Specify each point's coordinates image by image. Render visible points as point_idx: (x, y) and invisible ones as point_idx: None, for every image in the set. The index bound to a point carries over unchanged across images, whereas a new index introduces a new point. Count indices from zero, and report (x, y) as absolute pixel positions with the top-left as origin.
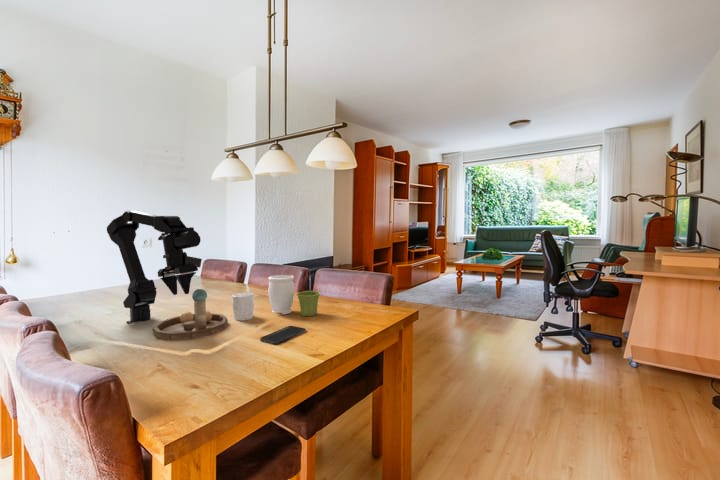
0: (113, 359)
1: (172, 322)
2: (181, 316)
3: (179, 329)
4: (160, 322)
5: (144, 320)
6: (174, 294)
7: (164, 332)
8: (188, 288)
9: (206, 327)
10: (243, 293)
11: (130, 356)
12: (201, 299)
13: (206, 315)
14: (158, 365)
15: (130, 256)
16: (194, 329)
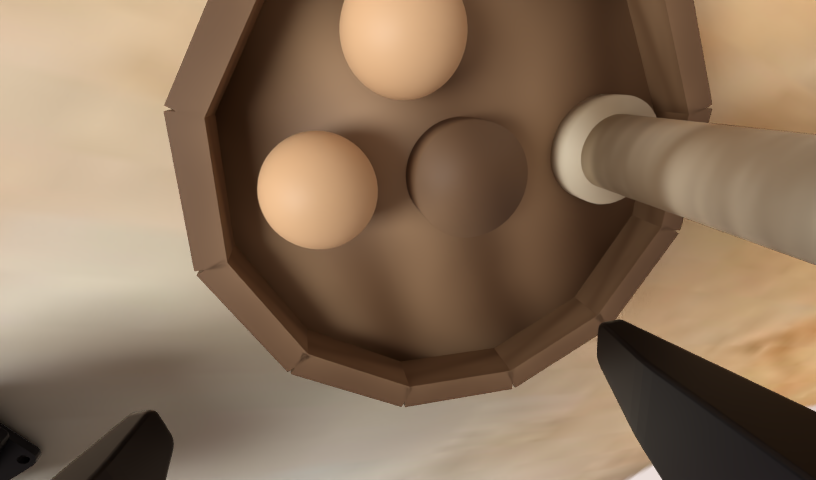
0: (580, 470)
1: (257, 277)
2: (340, 244)
3: (433, 248)
4: (316, 368)
5: (3, 439)
6: (171, 444)
7: (562, 352)
8: (708, 380)
9: (614, 108)
10: None
11: (597, 429)
12: None
13: (465, 39)
14: (750, 350)
15: None
16: (590, 188)
